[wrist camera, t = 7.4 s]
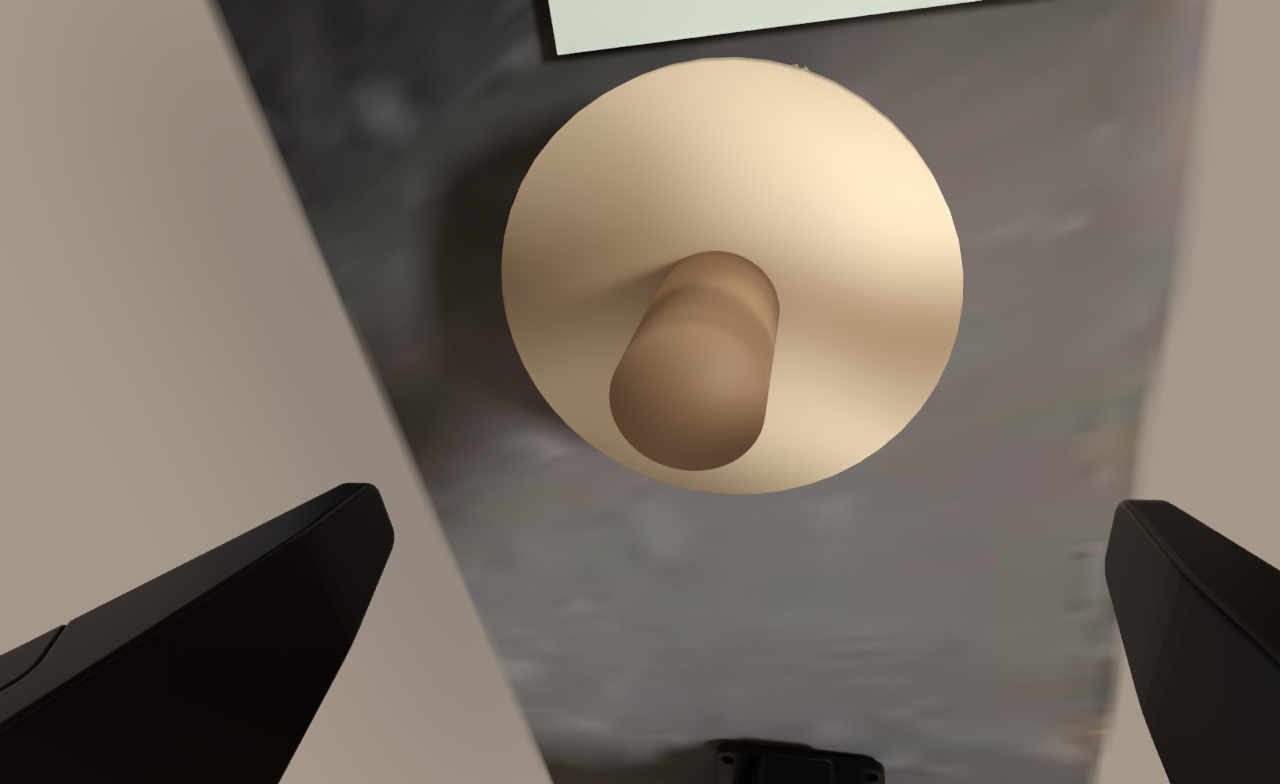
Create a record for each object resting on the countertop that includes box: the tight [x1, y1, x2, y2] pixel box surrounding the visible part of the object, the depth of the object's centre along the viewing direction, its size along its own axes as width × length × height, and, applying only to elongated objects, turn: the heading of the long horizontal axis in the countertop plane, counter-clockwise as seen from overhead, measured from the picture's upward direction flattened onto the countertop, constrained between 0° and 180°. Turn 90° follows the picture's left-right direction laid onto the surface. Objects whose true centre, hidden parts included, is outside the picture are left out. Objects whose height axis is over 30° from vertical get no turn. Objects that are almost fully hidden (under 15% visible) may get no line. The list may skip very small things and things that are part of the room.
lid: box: [501, 57, 963, 494], centre depth 14 cm, size 10×10×5 cm
